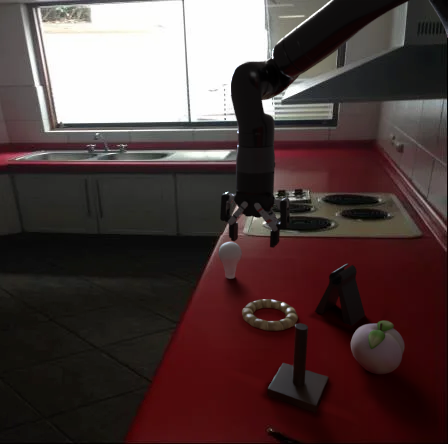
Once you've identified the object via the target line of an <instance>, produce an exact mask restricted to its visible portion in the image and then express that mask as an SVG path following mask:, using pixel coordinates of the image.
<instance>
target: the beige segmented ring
mask: <svg viewBox="0 0 448 444" xmlns="http://www.w3.org/2000/svg"><path fill="white" fill-rule="evenodd" d="M265 308H271V309H276V310H279V311H280V312H282V313H284V315H285V318H283V319H280V320H265V319H261V318H259V317H257V316H256V315H255V314H254V313H255V312H256V311H258V310H259V309H265ZM241 315H242V319H243V321H244V322H246V323H247V324H249V325H250V326H251V327H253V328H257V329H261V330H264V331H284V330H286V329H290V328H291V327H292V328H293V327H295V325H296V324H297V322H298V320H299V316H298V314H297V311H296V309H295V308H294V307H293V306H291V305H289V304H288V303H286V302H285V301H280V300H276V299H271V298H270V299H268V298H267V299H257V300H254V301H251V302H248V303H246V305H245V306H244V308H242V310H241Z"/></svg>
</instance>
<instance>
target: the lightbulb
mask: <svg viewBox="0 0 448 444" xmlns="http://www.w3.org/2000/svg"><path fill="white" fill-rule="evenodd" d="M242 255H243V252H242V248H241V246H240V245H239V244H238V243H236V242H235V241H226V242H224V243H222V244H221V245H220V247H219V248H218V258H219V261H221V263H222V266H223V271H224V275H225V276H224V277H225V278H226V279H230V280H232V279H235V278H236V272H237V267H238V264H239V262H240V261H241V259H242Z"/></svg>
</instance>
